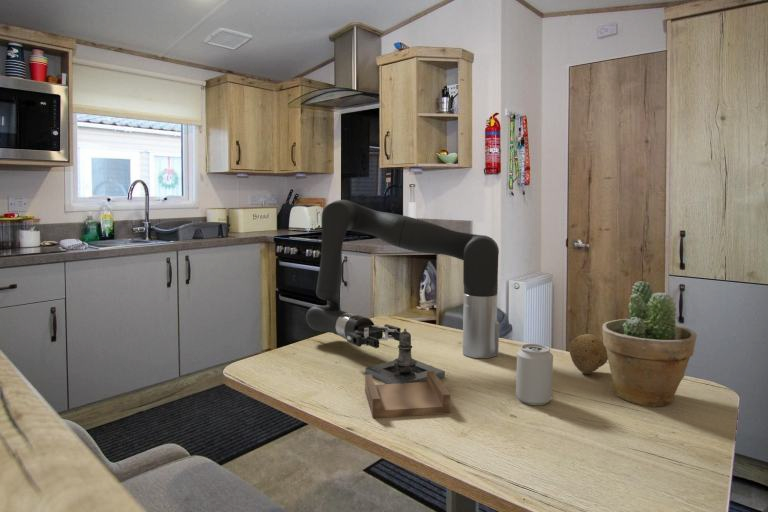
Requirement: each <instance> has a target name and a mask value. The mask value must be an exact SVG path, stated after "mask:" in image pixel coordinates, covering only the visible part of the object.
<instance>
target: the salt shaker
mask: <svg viewBox="0 0 768 512" xmlns="http://www.w3.org/2000/svg"><path fill="white" fill-rule="evenodd" d="M397 348H398V356H397V358H395V359H393V360H392V361H393V363H394V366H395V368H396V372H395V373H394V374H396V375H398V376H401V377H403V378H404V377H407V376H410V375H414V374H415V372H413V370H414V368H415V364H416V363H417V361H418V360H417V361H416V359H415V358H413V357H412V348H413V345H412V334H411V333H410V332H408V331H407V329H406V328H404V329H403V331H401V333H400V335H399V341H398V346H397Z"/></svg>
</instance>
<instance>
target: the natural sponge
mask: <svg viewBox="0 0 768 512" xmlns="http://www.w3.org/2000/svg"><path fill="white" fill-rule="evenodd" d="M569 344H570V345H569V350H568V351H569V354H570V358H571V361H572V362H573V365H574V366H575V367H576V368H577V370H579V372H581V373H583V374H584V375H589V374H592V373H594V372H595V371H597V370H598V369H599V368H601V367H603V366H604V365H605V364H607V362H608V356H607V350H606V347H605V346H604V345H603V340H602V339H600V338H599V337H597V336H596V335H593V334H591V333H585V334H580V335H578V336H576V337H575V338H573V340H572V341H571V342H570V343H569Z"/></svg>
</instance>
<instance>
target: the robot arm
mask: <svg viewBox="0 0 768 512" xmlns="http://www.w3.org/2000/svg"><path fill="white" fill-rule="evenodd" d="M347 231H350V232H351V231H352V232H358V233H363V234H368V235H371V236H373V237H376V238H378V239H380V240H381V241H383V242H385V243H387V244H389V245H392V246H393V247H396V248H400V249H404V250H407V251H411V252H417V253H423V254H424V253H425V254H430V255H431V254H433V255H443V256H448V257H449V256H450V257H452V258H456V259H459V260H461V261H463V262H462V263H463V265H462V266H463V272H462V273H463V274H462V275H463V276H462V277H463V278H462V280H463V282H462V283H463V309H462V310H463V312H462V313H463V315H462V317H463V318H462V319H463V320H462V355H464V356H466V357H469V358H475V359H490V358H493V357H498V356H499V347H500V346H499V343H500V341H499V339H500V321H498V320H497V319H498V289H499V285H498V284H499V283H498V282H499V279H498V277H499V256H500V255H499V254H500V248H499V245H498V243H497V242H496V241H495V240H494V238H492V237H490V236H488V235H484V234H483V235H481V234H473V233H468V232H461V231H456V230H452V229H449V228H446V227H444V226H440V225H438V224H435V223H433V222H429V221H426V220H423V219H420V218H415V217H412V216H407V215H401V214H398V213H392V212H385V211H380V210H374V209H371V208H369V207H367V206H364V205H360V204H358V203H356V202H353V201H351V200H348V199H337V200H333V201H331V202H328V203H327V204H326V205H325V206H324V207H323V209H322V212H321V252H320V253H321V254H320V263H319V270H318V275H317V283H316V288H315V289H316V290H315V294H316V297H317V298H318V299H320V300H322V301H326V305H315V306H311V307H310V308H309V309H308V310H307V312H306V315H305V320H306V321H305V322H306V323H307V325H308V326H309V328H311V329H312V330H314V331H317V332H323V333H331V334H334V335H337V336H339V337H341V338H343V339H345V340H346V342H347V343H349V344H351V345H353V346H356V347H362V346H365V347H367V346H369V347H371V348H374V349H379V348H380V341H388V340H394V341H398V342H399V335H400V333H402V331H401V330H402V329H401V327H398V326H394V325H390V324H384V326H379V325H377V324H374V323H375V322H373V320H372V319H371V318H368V317H366V316H363V315H359V314H356V313H350V312H347V311H344V310H342V309H341V299H340V298H341V297H340V291H341V285H342V278H343V261H342V256H343V255H342V254H343V253H342V252H343V245H344V239H345V236H346V233H347Z"/></svg>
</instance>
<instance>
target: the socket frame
mask: <svg viewBox="0 0 768 512" xmlns="http://www.w3.org/2000/svg"><path fill="white" fill-rule="evenodd" d="M415 360H416V359H415ZM393 361H394V360H391V361H387V362H383V363H379V364H375V365H372V366H368V367H367V366H366V367H365V370H364V372H365V374H364V375H368V374H371V375H372V377H373V379H377V380H378V381H380V382H382V383H383V384H398V383H400V384H404V383H416V382H427V371H434V373H435V374H436V375H437V377H438V378H439V380H441V379H443V378H446V370H442V369H441V368H438V367H435V366H432V365H431V364H430V365H429V364H427V363H426V362H425V363H424V362H422V361H419V360H416V361H417V363H416V364H415V368H414V370H413V371H414V372H417V373H414V375H410V376H407V377H404V378H403V377H401V376H398V375H396V374H395V373H393V372H397V370H396V368H395V366H394V363H393ZM413 371H412V372H413Z"/></svg>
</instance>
